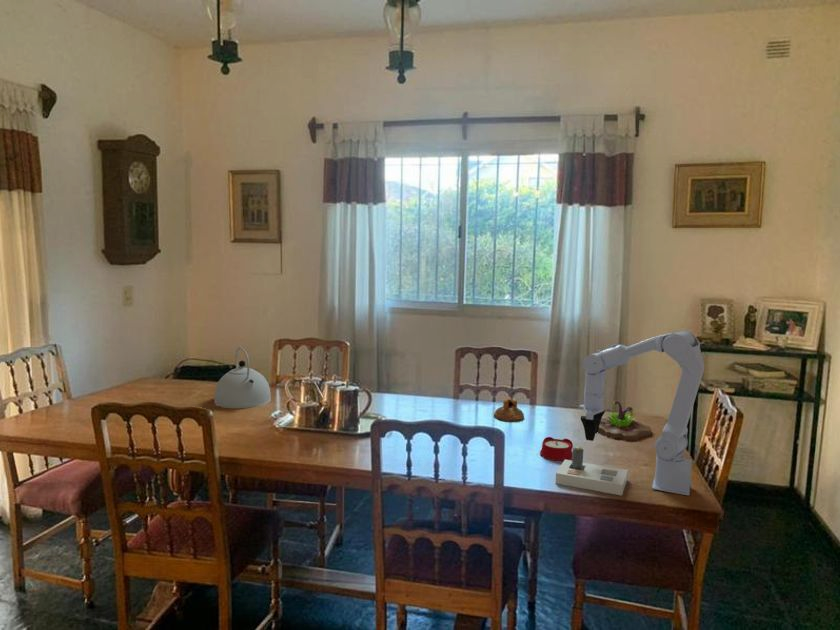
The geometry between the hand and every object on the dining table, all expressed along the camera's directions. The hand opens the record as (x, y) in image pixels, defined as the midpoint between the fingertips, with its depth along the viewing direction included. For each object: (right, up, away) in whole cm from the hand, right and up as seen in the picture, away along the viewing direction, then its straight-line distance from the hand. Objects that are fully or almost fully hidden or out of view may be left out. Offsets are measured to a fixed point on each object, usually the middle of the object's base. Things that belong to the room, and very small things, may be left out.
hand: (591, 436), depth 182 cm
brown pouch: (-18, -3, +51) cm, 54 cm away
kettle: (-126, +1, +67) cm, 142 cm away
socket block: (-3, -11, -11) cm, 15 cm away
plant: (+21, -6, +37) cm, 42 cm away
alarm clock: (-8, -8, +12) cm, 17 cm away
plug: (-7, -10, -7) cm, 14 cm away
